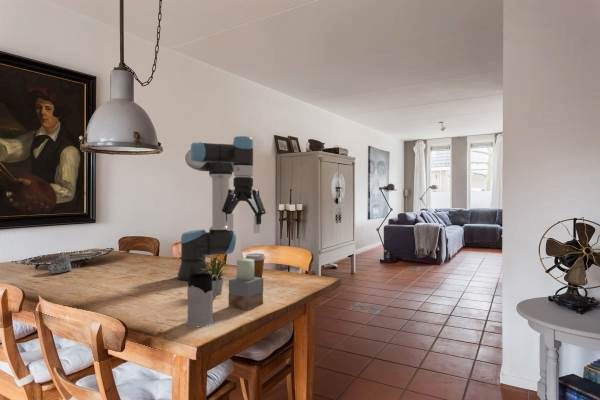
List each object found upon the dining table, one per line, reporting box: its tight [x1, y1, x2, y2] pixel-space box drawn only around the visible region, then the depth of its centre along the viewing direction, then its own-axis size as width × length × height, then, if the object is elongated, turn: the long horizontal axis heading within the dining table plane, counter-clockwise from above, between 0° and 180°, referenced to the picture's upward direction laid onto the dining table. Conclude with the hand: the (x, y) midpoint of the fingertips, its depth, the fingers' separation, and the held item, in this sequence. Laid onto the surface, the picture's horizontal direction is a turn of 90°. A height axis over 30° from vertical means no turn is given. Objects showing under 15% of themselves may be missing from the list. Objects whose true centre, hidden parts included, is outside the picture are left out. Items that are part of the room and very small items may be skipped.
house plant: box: [199, 255, 229, 296], centre depth 149 cm, size 14×14×16 cm
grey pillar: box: [186, 273, 218, 328], centre depth 118 cm, size 9×14×15 cm, turn 159°
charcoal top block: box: [228, 277, 264, 297], centre depth 133 cm, size 9×9×5 cm
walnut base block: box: [228, 291, 264, 311], centre depth 133 cm, size 9×9×5 cm
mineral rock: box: [47, 253, 72, 275], centre depth 190 cm, size 13×11×10 cm
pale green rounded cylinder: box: [236, 258, 254, 281], centre depth 133 cm, size 6×6×7 cm
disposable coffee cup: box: [245, 252, 266, 278], centre depth 175 cm, size 10×10×12 cm
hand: (243, 231), depth 140 cm, fingers open, 13 cm apart
